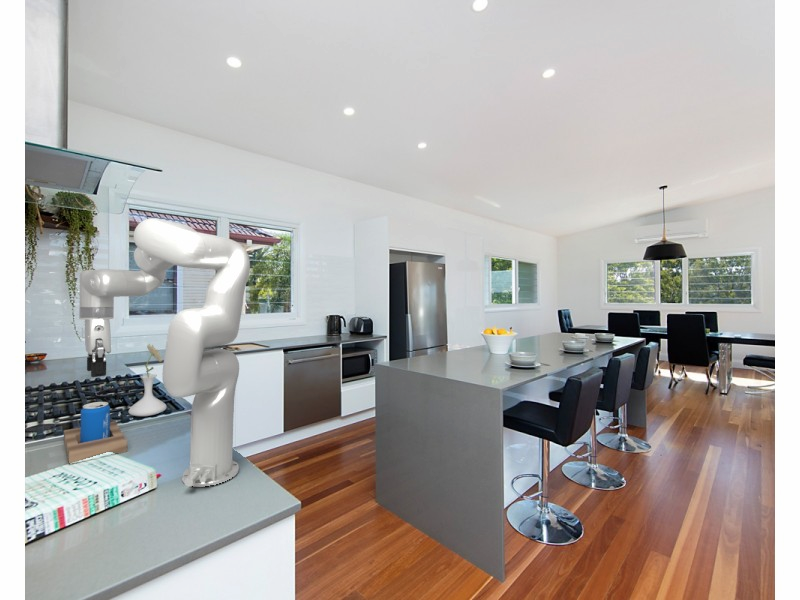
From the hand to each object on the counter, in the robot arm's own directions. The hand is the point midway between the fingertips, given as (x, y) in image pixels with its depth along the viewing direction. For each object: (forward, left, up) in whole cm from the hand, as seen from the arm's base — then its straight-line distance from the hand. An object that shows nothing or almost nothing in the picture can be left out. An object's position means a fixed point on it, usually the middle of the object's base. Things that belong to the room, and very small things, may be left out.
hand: (96, 373), depth 105 cm
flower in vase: (+28, +1, -21) cm, 35 cm away
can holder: (0, 0, -21) cm, 21 cm away
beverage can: (0, 0, -21) cm, 21 cm away
